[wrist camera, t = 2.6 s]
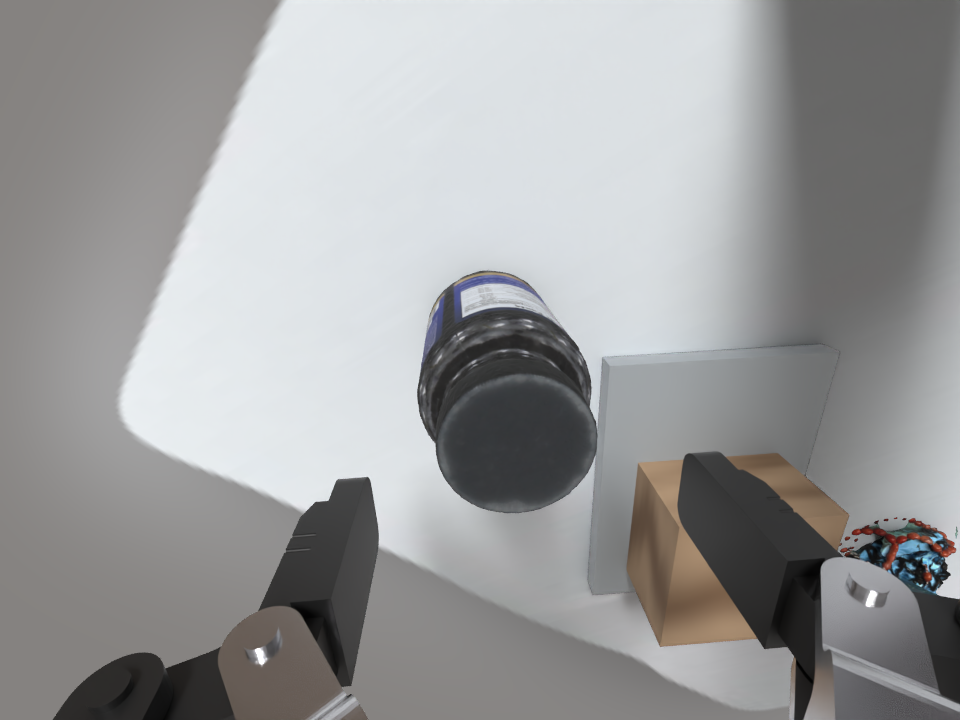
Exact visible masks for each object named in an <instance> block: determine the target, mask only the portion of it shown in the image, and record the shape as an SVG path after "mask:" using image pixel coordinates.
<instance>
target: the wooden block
mask: <svg viewBox="0 0 960 720" xmlns="http://www.w3.org/2000/svg"><path fill="white" fill-rule="evenodd" d="M726 458H727V459H728V460H729V461H730V462H731V463H732V464H733V465H734V466H735V467H736V468H737V469H738V470H742V469H743V470H745V471H747V472H749V473H750V474H752V475H754V476H756V477H758V478H759V479H761V480H763V481H765V482H766V483H767V484H768V485H769V486H770V487H771V488H772V489H773V490H774V491H775V492H776V493H777V494H778V495H779V496H780V499H781V500H782V499H783V500H784V501H785V502H787V503H788V504H789V505H790V506H791V507H792V508H793V511H794V512H797V513H798V514H799V515H800V516H801V517H802V518H803V519H804V520H805V521H806V522H807V523H808V524H809V525H810V526H812V527H813V528H814V529H815V530H816V531H817V532H818V533H819V534H820V535H821V536H822V537H823V538H824V539H825V540H826V541H827V542H828V543H829V544H830V545H831V546H832V547H833V548H834V549H836V550H838V547H839V544H840V541H841V538H842V535H843V532H844V529H845V526H846V524H847V521H848V518H849V514H848V513H847V512H846V511H845V510H843V509H842V508H841V507H840V506H839V505H838V504H836V503H835V502H834V501H833V500H832V499H831V498H829V497H828V496H827V495H826V494H825V493H824V492H823V491H821V490H820V489H819V488H818V487H817V486H816V485H814V484H813V483H812V482H811V481H810V480H809V479H807V478H806V477H805V476H804V475H803V474H802V473H800V472H799V471H798V470H797V469H796V468H795V467H794V466H792V465H791V464H790V463H789V462H788V461H787V460H785V459H784V458H783V457H782V456H781V455H780V454H778V453H770V454H756V455H741V456H727V457H726ZM682 465H683V460H670V461H655V462H641V463H638V467H637V477H636V486H635V495H634V504H633V513H632V522H631V531H630V540H629V549H628V558H627V567H626V570H627V572H628V575H629V577H630V579H631V582H632V584H633V586H634V588H635V591H636V593H637V595H638V597H639V600H640V602H641V604H642V607H643V609H644V611H645V613H646V616H647V618H648V620H649V623H650V625H651V627H652V629H653V632H654V634H655V636H656V639H657V641H658V643H659V645H660V647H663V646H675V645H687V644H699V643H710V642H722V641H734V640H746V639H758V638H757V637H756V635H755V634H754V633H753V631H752V630H751V628H750V627H749V625H748V624H747V622H746V621H745V619H744V618H743V616H742V615H741V613H740V612H739V610H738V609H737V607H736V606H735V604H734V603H733V601H732V600H731V598H730V597H729V595H728V594H727V592H726V591H725V589H724V588H723V586H722V585H721V583H720V582H719V580H718V579H717V577H716V576H715V574H714V573H713V571H712V570H711V568H710V567H709V565H708V564H707V562H706V561H705V559H704V558H703V556H702V555H701V553H700V552H699V550H698V549H697V547H696V546H695V544H694V543H693V541H692V540H691V538H690V537H689V535H688V534H687V532H686V531H685V529H684V528H683V526H682V524H681V521H680V518H679V515H678V508H677V502H678V494H679V487H680V480H681V472H682Z"/></svg>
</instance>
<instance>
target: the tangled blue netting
mask: <svg viewBox="0 0 960 720" xmlns="http://www.w3.org/2000/svg"><path fill="white" fill-rule="evenodd" d="M894 519H897V517H896V518H894ZM902 520H906V518H903V519H902ZM884 521H888V519H884ZM878 522H879V520H878V521H875V522H874V523H875V524H877V525H875V526H872V527H869V525H867V526H865V527H864V528H862V529H856V530H854V531H853V532H852V535H859V534H861V533H864V534H866V535H871V534H872V533H875V534H877V535H879V536H883V537H881V538H880V539H878V540H876V541H874V542H873V543H869V544H866V545H865V546H863V547H861V548H860V549H859V550H857V551H852V550H849V549H854V547H850V548H848V549H847V548H843V549H841V551H840V552H843V553H844V552H847V551H848V550H849V551H851V552H847V553H846V554H845V555H844V556H846V558H853V559H858V560H862V561H865V562H868V563H870V564H873V565H875V566H877V567H880V568H882V569H883V570H885V571H887V572H889V573H890V574H892V575H893V576H895V577H896V578H898V579H899V580H900V581H902V582H903V583H904V584H905V585H906V586H907V587H908V588H909V589H910V590H911V591H912V592H918V593H924V594H930V595H936V596H939V595H937V594H936V590H937V588H939V587H940V586H941V584H943V582H942V581H944V580H946V579H948V576H950V575H951V574H950V573H949V572H947V571H946V570H947V566H948V565H947V564H946V563H945V558H944V557H948V556H949V555H951V553H955V552H956V548H954V547H953V546H954V544H955V543H954V542H952V541H950V540H948V539H947V536H946V535H945V534H944V533H943V532H940V531H938V530H937V528H930V525H925V524H924V523H922V522H921V521H916V520H915V518H912V519H910V520H909V523H908V524H907V526H906V527H905V528H903V529H899V530H896V531H892V532H886V531H884V530H882V529H880V528H879V525H878ZM918 531H920V532H918ZM923 532H924V533H923ZM957 532H958V531H957V526H956V533H955V535H956V537H957V535H958V534H957ZM849 539H850V537H846V538H845V540H849ZM857 540H858V539H855V540H854V541H855V542H856V541H857ZM841 545H842V543H840V544H839V546H841Z"/></svg>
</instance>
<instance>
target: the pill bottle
mask: <svg viewBox="0 0 960 720" xmlns="http://www.w3.org/2000/svg"><path fill="white" fill-rule="evenodd" d="M417 397H418V405H419V412H420V417H421V419H422V421H423V424H424V426H425V429H426V430H427V432H428V435H429V436H430V437H431V439H432V440H433V441H434V443H436V455H437V460H438V464H439V467H440V470H441V472H442V474H443V476H444V478H445V480H446V481H447V482H448V484H449V485H450V486H451V487H452V489H453V490H454V491H455V492H456V493H457V494H459V495H460V496H461V497H462V498H463V499H465V500H467V501H468V502H470V503H471V504H474V505H476V506H477V507H480V508H483V509H487V510H490V511H496V512H503V513H521V512H528V511H534V510H537V509H541V508H543V507H545V506H548V505H550V504H553V503H554V502H556V501H558V500H560V499H562V498H563V497H565V496H566V495H568V494H569V493H570V492H571V491H572V490H573V489H574V488H575V487H577V485H578V484H579V483H580V482H581V480H582V479H583V478H584V477H585V475H586V474H587V473H588V471H589V469H590V467H591V465H592V463H593V460H594V457H595V455H596V450H597V437H598V435H597V427H596V421H595V419H594V417H593V414H592V412H591V410H590V407H589V406H590V399H591V380H590V375H589V372H588V368H587V365H586V361H585V360H584V358H583V356H582V354H581V352H580V351H579V348H578V346H577V345H576V343H575V342H574V341H573V340H572V339H571V338H570V336H569V335H568V334H567V332H566V331H565V330H564V328H563V327H562V326H561V324H560V323H559V322H558V321H557V319H556V318H555V317H554V315H553V314H552V312H551V311H550V310H549V308H548V307H547V306H546V304H545V303H544V302H543V300H542V299H541V297H540V296H539V295H538V294H537V292H536V291H535V290H534V289H533V288H532V287H531V286H530V285H529V284H528V283H527V282H525V281H524V280H521V279H520V278H518V277H516V276H514V275H511V274H509V273H503V272H496V271H479V272H476V273H473V274H470V275H467V276H464V277H462V278H461V279H460V280H458V281H457V282H455V283H453V284H452V285H450V286H449V287H448V288H447V289H445V290H444V291H443V292H442V294H441V295H440V296H439V297H438V299H437V300H436V303H435V304H434V306H433V308H432V311H431V313H430V316H429V321H428V325H427V333H426V339H425V346H424V353H423V359H422V363H421V372H420V378H419V384H418V390H417Z"/></svg>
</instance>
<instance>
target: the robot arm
mask: <svg viewBox="0 0 960 720" xmlns="http://www.w3.org/2000/svg"><path fill="white" fill-rule="evenodd" d="M677 508H678V515H679V518H680V521H681V524H682V526H683V528H684V529H685V531H686V532H687V534H688V535H689V537H690V538H691V540H692V541H693V543H694V544H695V546H696V547H697V549H698V550H699V552H700V553H701V555H702V556H703V558H704V559H705V561H706V562H707V564H708V565H709V567H710V568H711V570H712V571H713V573H714V574H715V576H716V577H717V579H718V580H719V582H720V583H721V585H722V586H723V588H724V589H725V591H726V592H727V594H728V595H729V597H730V598H731V600H732V601H733V603H734V604H735V606H736V607H737V609H738V610H739V612H740V613H741V615H742V616H743V618H744V619H745V621H746V622H747V624H748V625H749V627H750V628H751V630H752V631H753V633H754V634H755V635H756V637H757V638H758V640H759V641H760V643H761V644H762V646H763V647H764V649H769V648H780V647H788V648H789V650H790V651H791V652H792V654H793V655H794V659H793V662H792V666H791V684H790V709H789V720H960V599H954V598H948V597H942V596H936V595H930V594H924V593H918V592H912V591H911V590H910V589H909V588H908V587H907V586H906V585H905V584H904V583H903V582H902V581H900V580H899V579H898V578H896V577H895V576H893V575H892V574H890V573H889V572H887V571H885V570H883V569H882V568H880V567H877V566H875V565H873V564H870V563H868V562H865V561H862V560H858V559H853V558H846V557H843V556H842V555H841V554H840V553H839V552H838V551H837V550H836V549H834V548H833V547H832V546H831V545H830V544H829V543H828V542H827V541H826V540H825V539H824V538H823V537H822V536H821V535H820V534H819V533H818V532H817V531H816V530H815V529H814V528H813V527H812V526H810V525H809V524H808V523H807V522H806V521H805V520H804V519H803V518H802V517H801V516H800V515H799V514H798V513H797V512H794V511H793V508H792V507H791V506H790V505H789V504H788V503H787V502H785V501H784V500H783V499H782V500H781V499H780V496H779V495H778V494H777V493H776V492H775V491H774V490H773V489H772V488H771V487H770V486H769V485H768V484H767V483H766V482H765V481H763V480H761V479H759V478H758V477H756V476H754V475H752V474H750V473H749V472H747V471H745V470H743V469H742V470H738V469H737V468H736V467H735V466H734V465H733V464H732V463H731V462H730V461H729V460H728V459H727V458H726V457H725V456H724V455H723V454H722V453H721V452H718V451H712V452H699V453H688V454H686V455H685V457H684V459H683V465H682V472H681V480H680V487H679V494H678V502H677ZM378 542H379V533H378V523H377V517H376V511H375V506H374V500H373V494H372V488H371V482H370V479H369V478H368V477H363V478H350V479H338V480H337V481H336V483H335V486H334V488H333V491H332V493H331V496H330V499H329V501H323V502H315V503H314V504H313V505H312V506H311V507H310V508H309V509H308V510H307V511H306V512H305V513H304V514H303V515H302V516H301V517H300V519H299V521H298V524H297V526H296V528H295V530H294V533H293V537H292V538H291V539H290V542H289V544H288V546H287V548H286V553H284V555H283V557H282V559H281V562H280V564H279V567H278V568H277V571H276V573H275V575H274V577H273V579H272V582H271V584H270V586H269V588H268V591H267V593H266V595H265V597H264V600H263V602H262V604H261V606H260V609H259V610H258V611H257V612H255V613H253V614H251V615H250V616H248V617H247V618H245V619H244V620H242V621H241V622H240V623H239V624H237V626H235V627H234V628H233V629H232V631H231V632H230V633H229V634H228V635H227V637H226V638H225V640H224V642H223V643H222V646H221V647H219V648H218V649H216V650H214V651H211V652H209V653H206V654H203V655H201V656H198V657H196V658H193V659H190V660H187V661H185V662H182V663H179V664H177V665H174V666H171V667H168V668H166V669H165V667H164V665H163V663H162V661H161V659H160V658H159V657H158V656H156V655H154V654H151V653H135V654H131V655H127V656H124V657H122V658H119V659H117V660H114V661H112V662H111V663H109V664H107V665H105V666H103V667H102V668H101V669H99V670H98V671H96V672H94V673H93V674H92V675H91V676H90V677H88V678H87V679H86V680H85V681H83V682H82V683H81V684H80V685H79V686H78V687H77V688H76V689H75V690H74V692H72V694H71V695H70V696H69V697H68V699H67V700H66V701H65V703H64V704H63V706H62V707H61V709H60V710H59V711H58V713H57V714H56V716H55V717H54V719H53V720H369V719H368V718H367V716H366V714H365V712H364V711H363V709H362V707H361V706H360V704H359V702H358V701H357V699H356V698H355V697H354V696H353V695H352V694H350V695H349V696H347V695H346V694H345V692H344V690H343V689H342V687H344V686H351V684H352V679H353V674H354V668H355V664H356V659H357V654H358V649H359V644H360V639H361V634H362V628H363V624H364V618H365V614H366V609H367V603H368V598H369V593H370V588H371V583H372V578H373V572H374V568H375V563H376V558H377V552H378Z"/></svg>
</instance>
